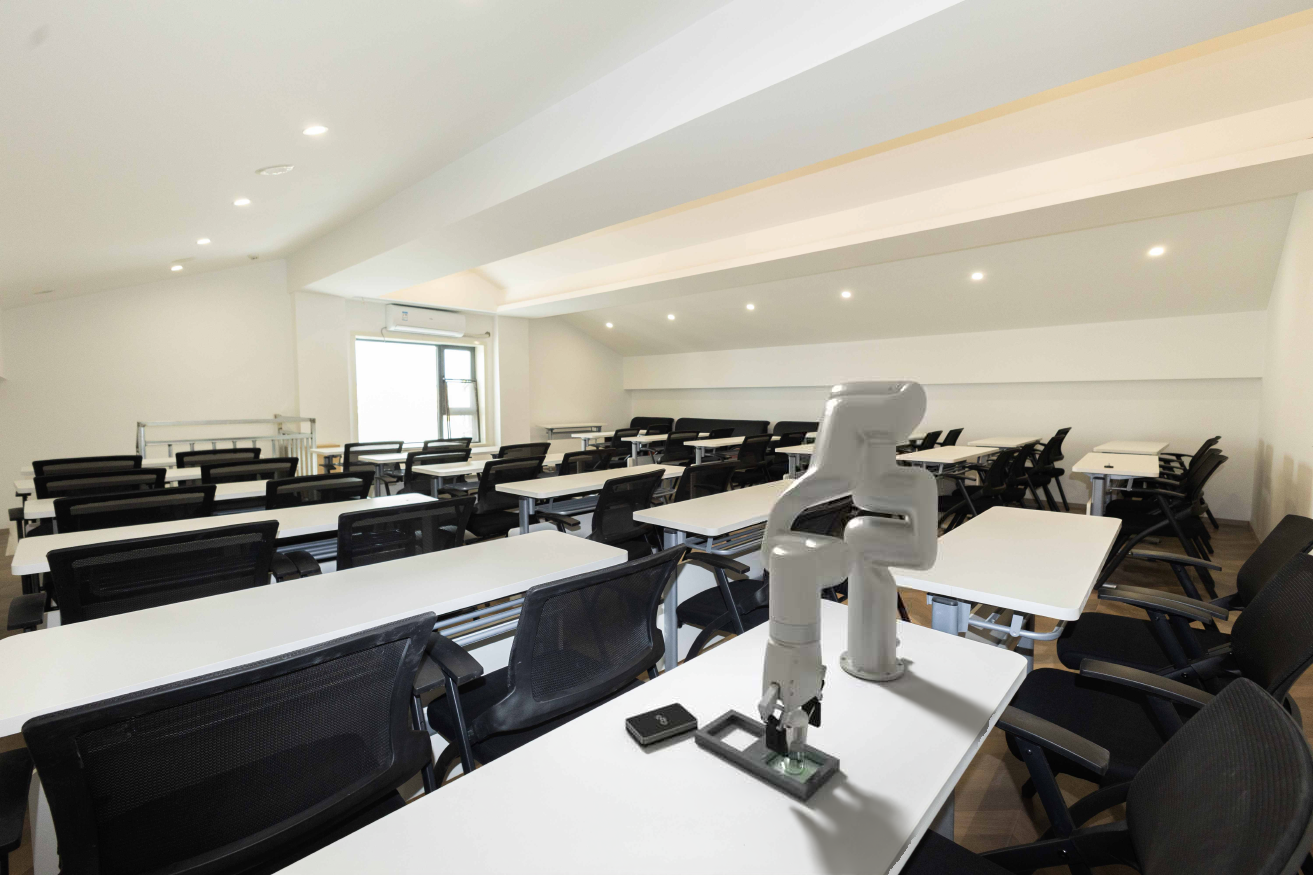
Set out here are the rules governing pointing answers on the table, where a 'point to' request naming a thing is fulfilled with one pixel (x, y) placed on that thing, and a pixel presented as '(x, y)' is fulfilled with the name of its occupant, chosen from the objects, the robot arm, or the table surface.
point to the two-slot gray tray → (769, 757)
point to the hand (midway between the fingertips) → (794, 736)
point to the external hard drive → (661, 724)
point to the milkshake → (795, 741)
